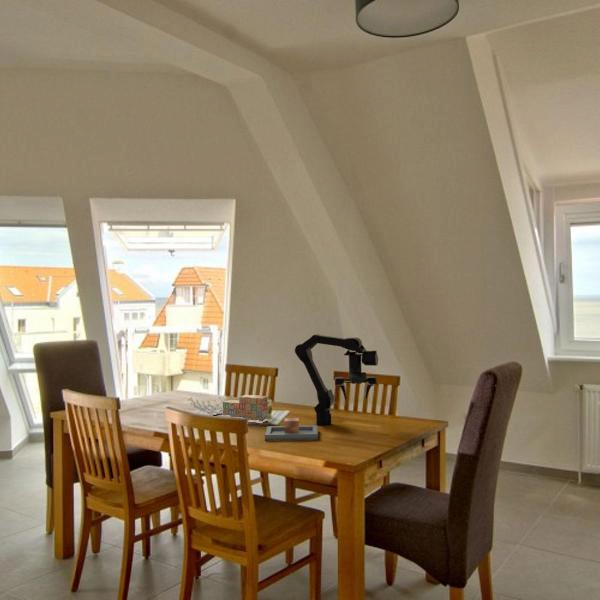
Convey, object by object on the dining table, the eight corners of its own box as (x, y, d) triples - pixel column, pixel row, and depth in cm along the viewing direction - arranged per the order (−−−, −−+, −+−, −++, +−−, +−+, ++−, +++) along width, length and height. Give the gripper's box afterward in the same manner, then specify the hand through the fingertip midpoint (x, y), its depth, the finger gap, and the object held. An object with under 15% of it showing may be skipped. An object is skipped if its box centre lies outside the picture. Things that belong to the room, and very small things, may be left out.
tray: (264, 441, 247) (264, 435, 247) (267, 432, 263) (267, 426, 263) (317, 439, 247) (317, 433, 247) (317, 431, 263) (317, 425, 263)
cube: (284, 435, 252) (284, 421, 252) (285, 432, 258) (284, 418, 258) (298, 435, 252) (298, 420, 252) (298, 431, 258) (298, 418, 258)
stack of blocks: (223, 421, 288) (222, 395, 288) (229, 418, 294) (228, 393, 294) (262, 424, 280) (261, 397, 280) (268, 421, 286) (267, 395, 286)
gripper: (335, 367, 263) (336, 403, 263) (377, 367, 263) (378, 402, 263) (334, 364, 274) (334, 398, 274) (374, 364, 274) (375, 397, 274)
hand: (355, 399), depth 271 cm, fingers open, 9 cm apart
